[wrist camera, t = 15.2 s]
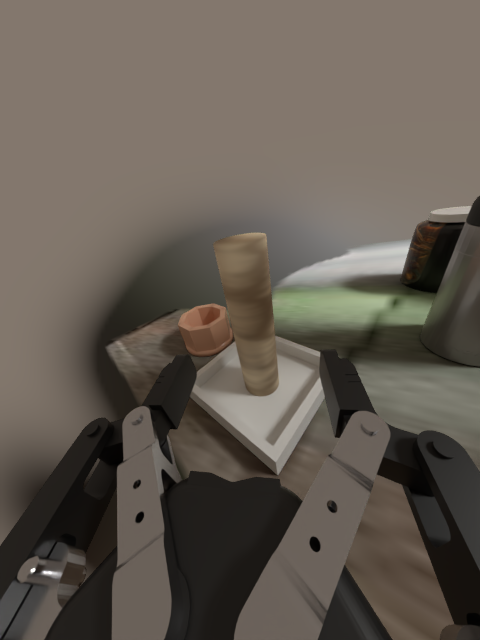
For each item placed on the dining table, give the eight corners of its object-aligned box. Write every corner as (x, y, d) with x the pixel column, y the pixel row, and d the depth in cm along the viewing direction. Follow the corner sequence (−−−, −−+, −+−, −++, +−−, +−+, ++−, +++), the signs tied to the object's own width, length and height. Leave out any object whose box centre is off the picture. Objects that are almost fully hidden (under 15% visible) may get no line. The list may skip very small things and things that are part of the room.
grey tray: (254, 339, 39) (252, 327, 38) (338, 374, 29) (340, 359, 28) (189, 396, 30) (182, 383, 29) (277, 475, 20) (275, 462, 19)
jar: (420, 296, 42) (447, 219, 34) (391, 276, 52) (407, 212, 44) (486, 290, 40) (531, 206, 32) (443, 270, 50) (470, 202, 42)
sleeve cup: (212, 321, 48) (206, 299, 44) (243, 334, 41) (238, 309, 38) (177, 345, 42) (167, 321, 39) (206, 364, 36) (197, 338, 32)
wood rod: (258, 364, 32) (238, 233, 22) (285, 378, 29) (277, 232, 18) (238, 385, 29) (202, 245, 19) (265, 403, 26) (241, 247, 16)
